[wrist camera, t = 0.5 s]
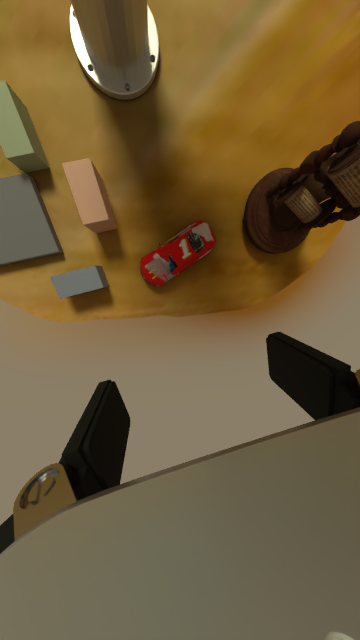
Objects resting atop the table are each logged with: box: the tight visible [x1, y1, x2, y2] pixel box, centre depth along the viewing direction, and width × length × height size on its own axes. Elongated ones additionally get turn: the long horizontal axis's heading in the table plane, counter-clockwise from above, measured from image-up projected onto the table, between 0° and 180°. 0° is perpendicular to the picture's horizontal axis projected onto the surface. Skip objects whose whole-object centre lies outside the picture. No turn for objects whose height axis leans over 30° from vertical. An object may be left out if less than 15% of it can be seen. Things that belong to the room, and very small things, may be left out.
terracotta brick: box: [62, 158, 117, 233], centre depth 28 cm, size 8×4×6 cm, turn 13°
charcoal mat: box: [0, 174, 63, 266], centre depth 29 cm, size 12×14×2 cm
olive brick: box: [0, 80, 50, 173], centre depth 26 cm, size 8×4×4 cm, turn 14°
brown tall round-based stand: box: [243, 121, 360, 254], centre depth 26 cm, size 15×15×20 cm
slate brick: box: [50, 266, 109, 299], centre depth 32 cm, size 8×4×4 cm, turn 104°
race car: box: [140, 221, 216, 286], centre depth 33 cm, size 16×7×5 cm, turn 122°
